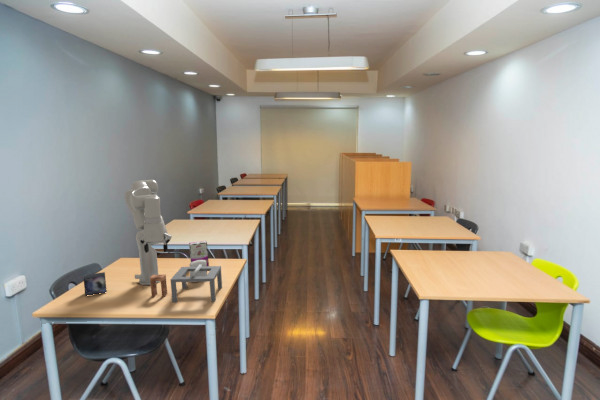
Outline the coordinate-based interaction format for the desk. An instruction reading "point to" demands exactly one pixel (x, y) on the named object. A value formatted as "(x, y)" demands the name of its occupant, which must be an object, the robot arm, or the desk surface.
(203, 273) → the photo printer
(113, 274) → the desk surface
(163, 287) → the u-shaped wooden block
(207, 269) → the grey square frame
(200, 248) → the candy bar box
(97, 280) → the small box
